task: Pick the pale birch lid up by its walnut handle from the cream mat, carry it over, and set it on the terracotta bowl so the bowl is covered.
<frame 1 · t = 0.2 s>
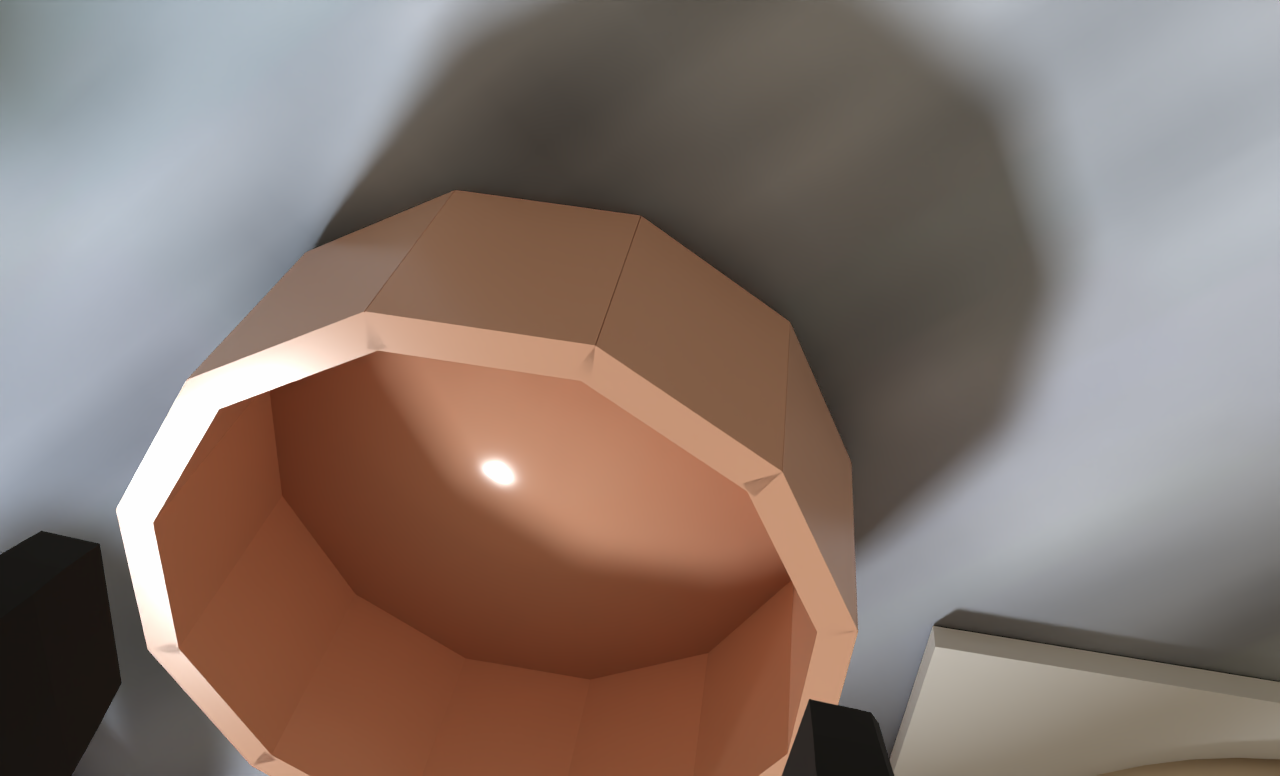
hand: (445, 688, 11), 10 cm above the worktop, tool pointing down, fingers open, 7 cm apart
bowl: (542, 463, 22), on the worktop
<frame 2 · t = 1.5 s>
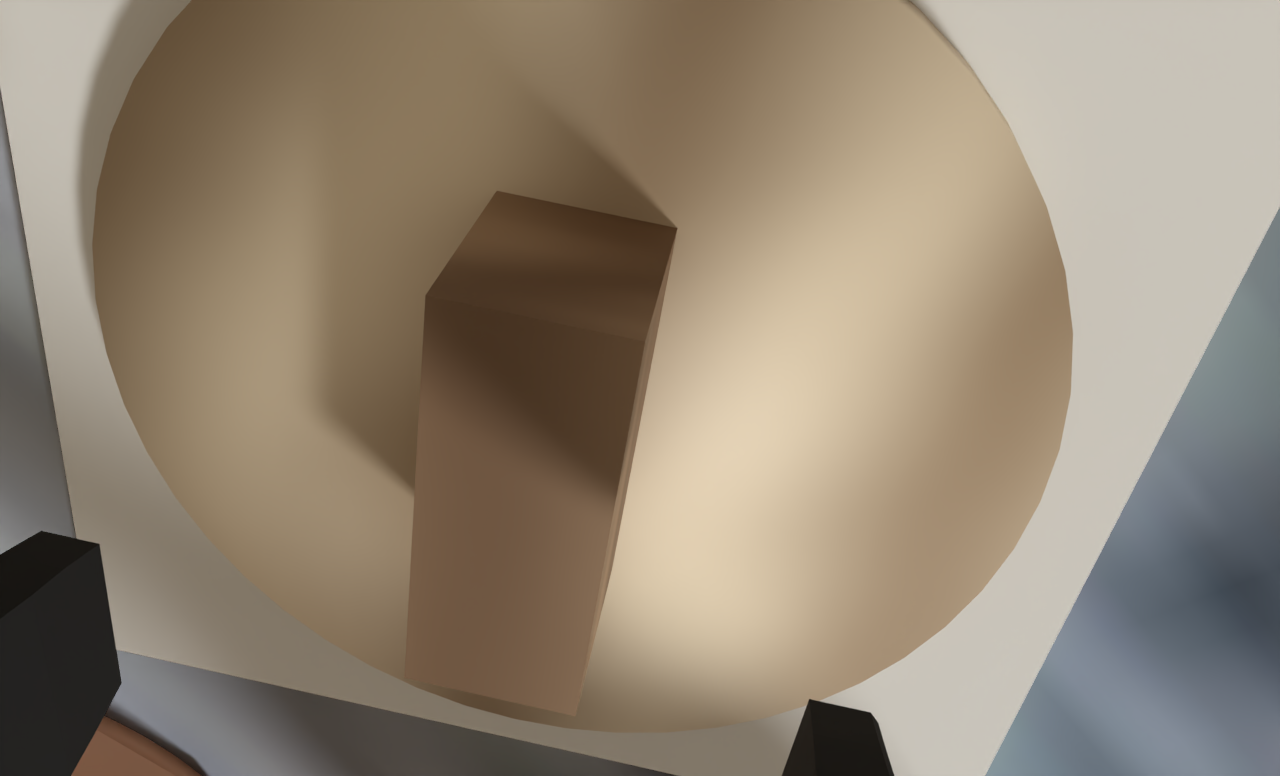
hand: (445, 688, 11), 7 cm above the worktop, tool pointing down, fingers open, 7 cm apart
mat: (578, 352, 17), on the worktop
lid: (571, 370, 16), point 1 cm above the worktop, touching mat
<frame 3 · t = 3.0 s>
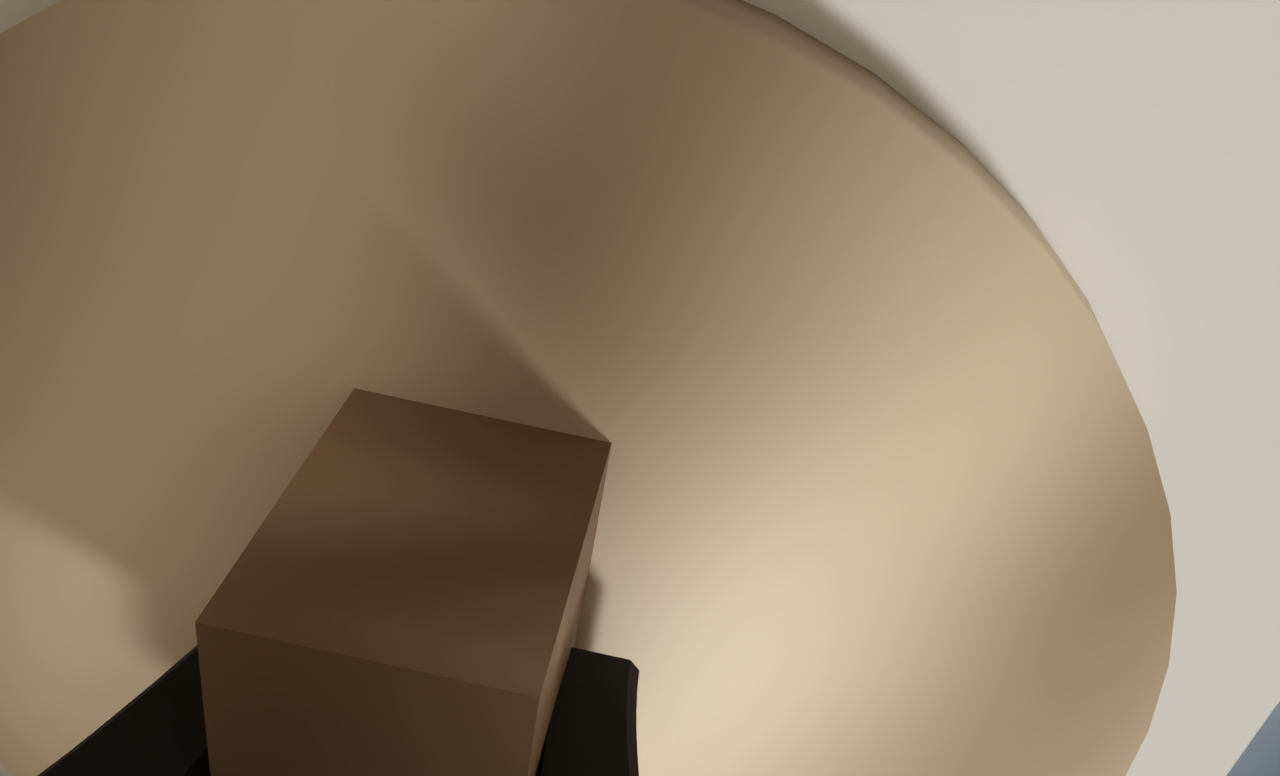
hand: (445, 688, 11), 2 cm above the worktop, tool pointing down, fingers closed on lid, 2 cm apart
mat: (494, 558, 13), on the worktop
lid: (480, 593, 12), point 1 cm above the worktop, touching gripper, mat
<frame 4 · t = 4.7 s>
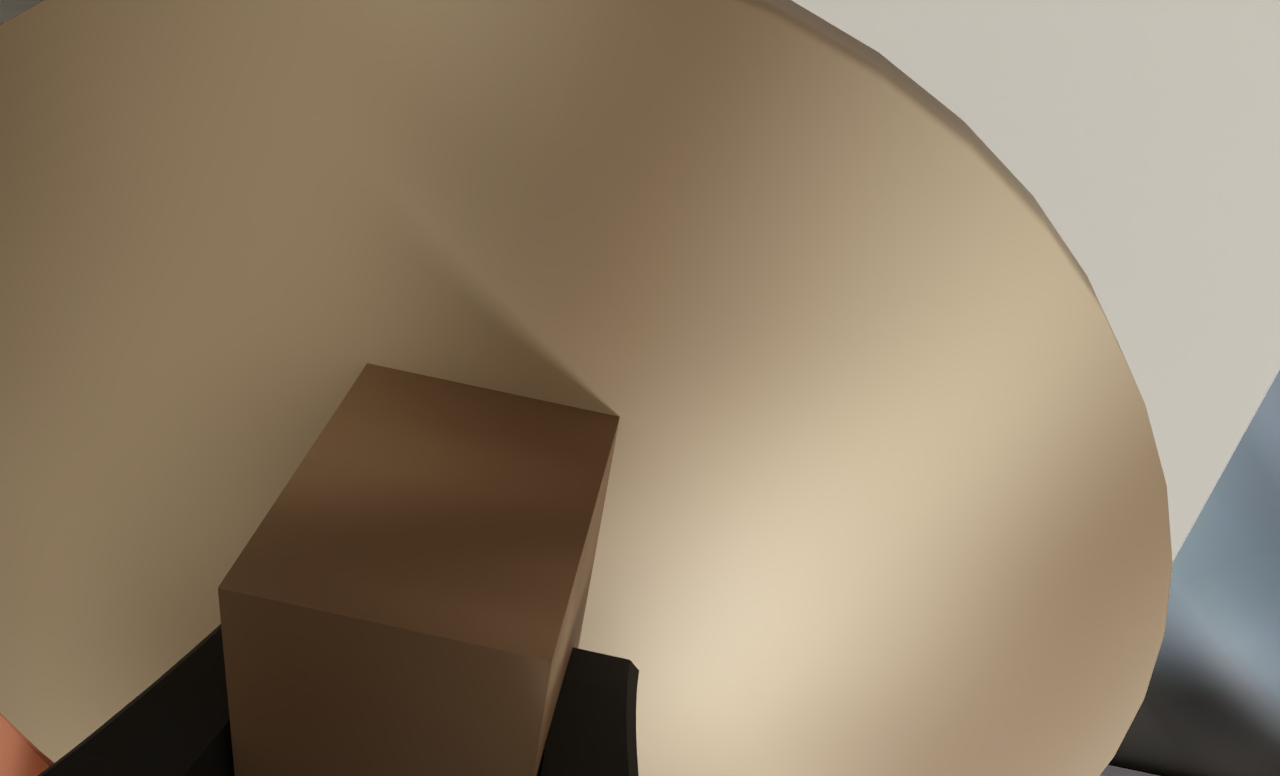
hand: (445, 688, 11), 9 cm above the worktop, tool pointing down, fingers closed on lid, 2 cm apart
mat: (796, 77, 17), on the worktop
bowl: (195, 680, 26), on the worktop
lid: (490, 565, 12), point 8 cm above the worktop, touching gripper
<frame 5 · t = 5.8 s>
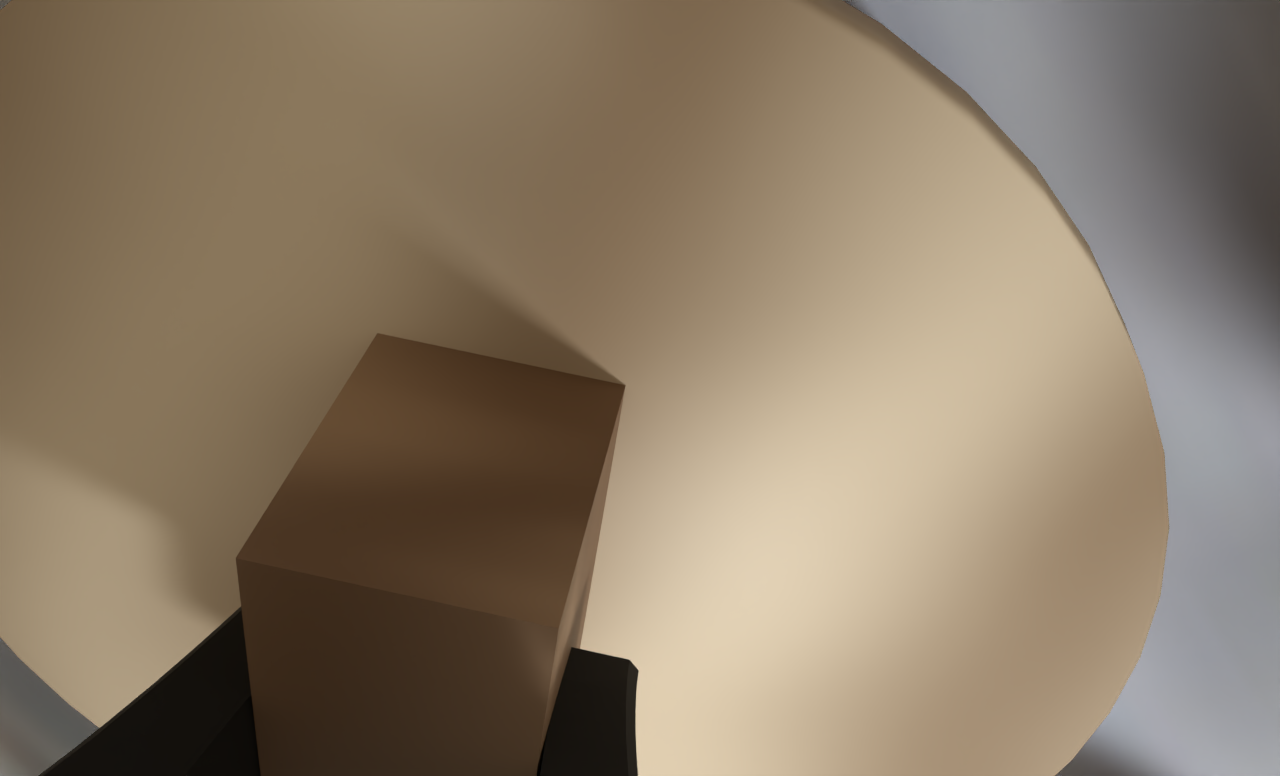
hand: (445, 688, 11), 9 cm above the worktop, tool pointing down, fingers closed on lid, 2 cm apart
lid: (500, 526, 13), point 7 cm above the worktop, touching gripper
when the fingers open (8 cm above the worktop, at t = 6.6 s): lid stays where it is, resting on bowl.
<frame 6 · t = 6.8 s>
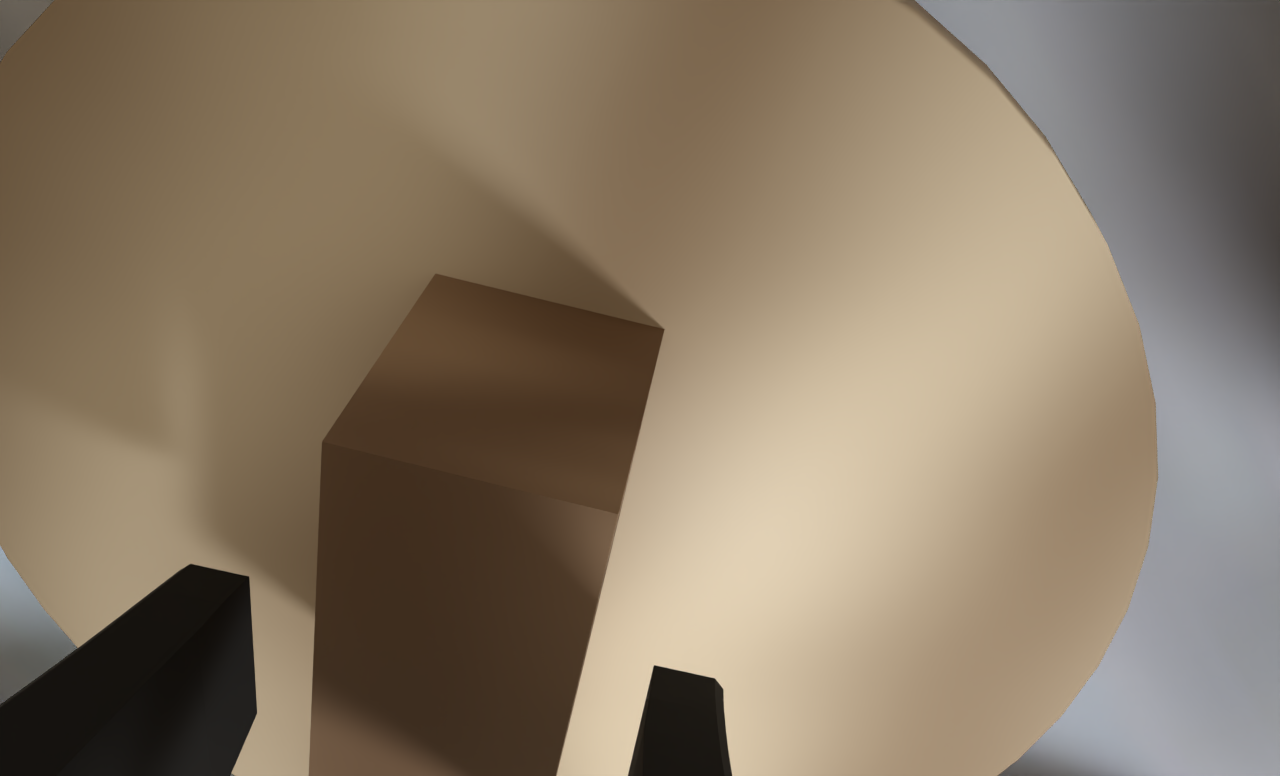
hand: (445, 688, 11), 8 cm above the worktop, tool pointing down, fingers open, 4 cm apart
lid: (527, 480, 13), point 5 cm above the worktop, touching bowl
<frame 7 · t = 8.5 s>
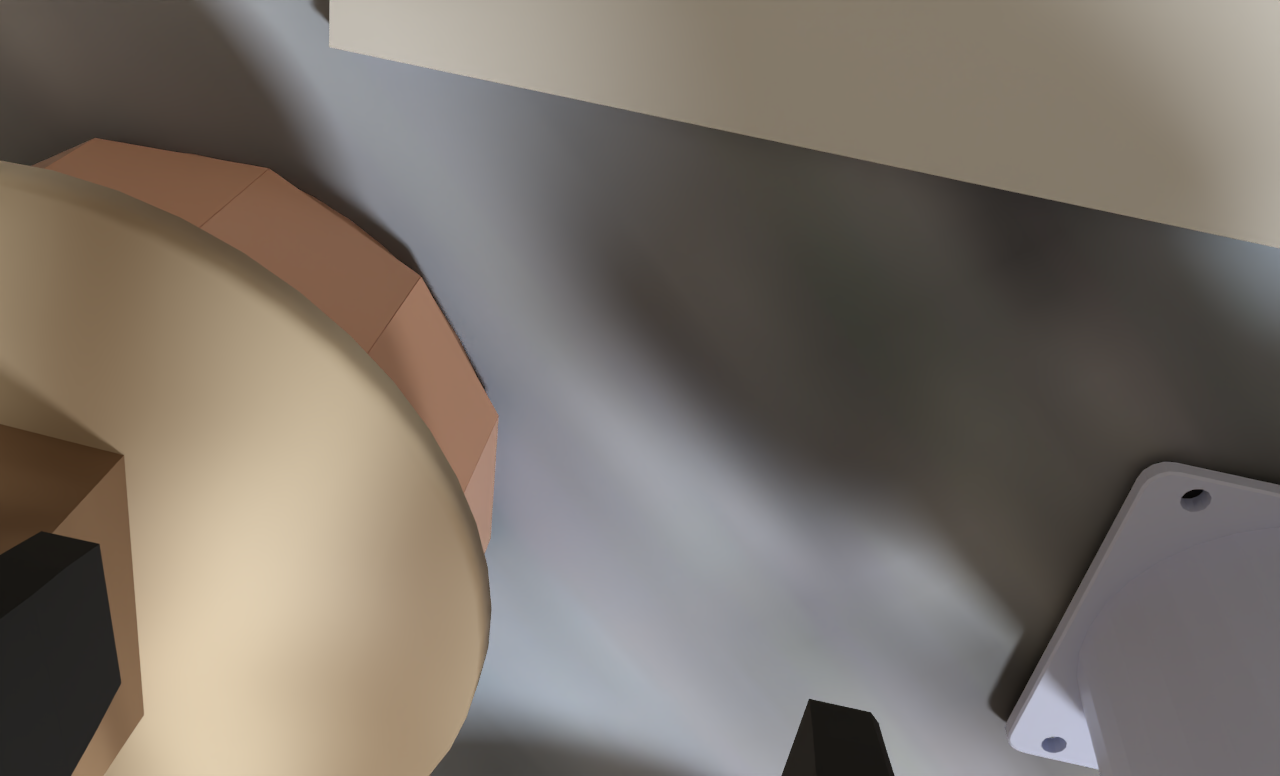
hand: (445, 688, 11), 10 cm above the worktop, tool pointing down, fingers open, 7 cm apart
bowl: (225, 410, 23), on the worktop, touching lid
lid: (91, 547, 19), point 5 cm above the worktop, touching bowl
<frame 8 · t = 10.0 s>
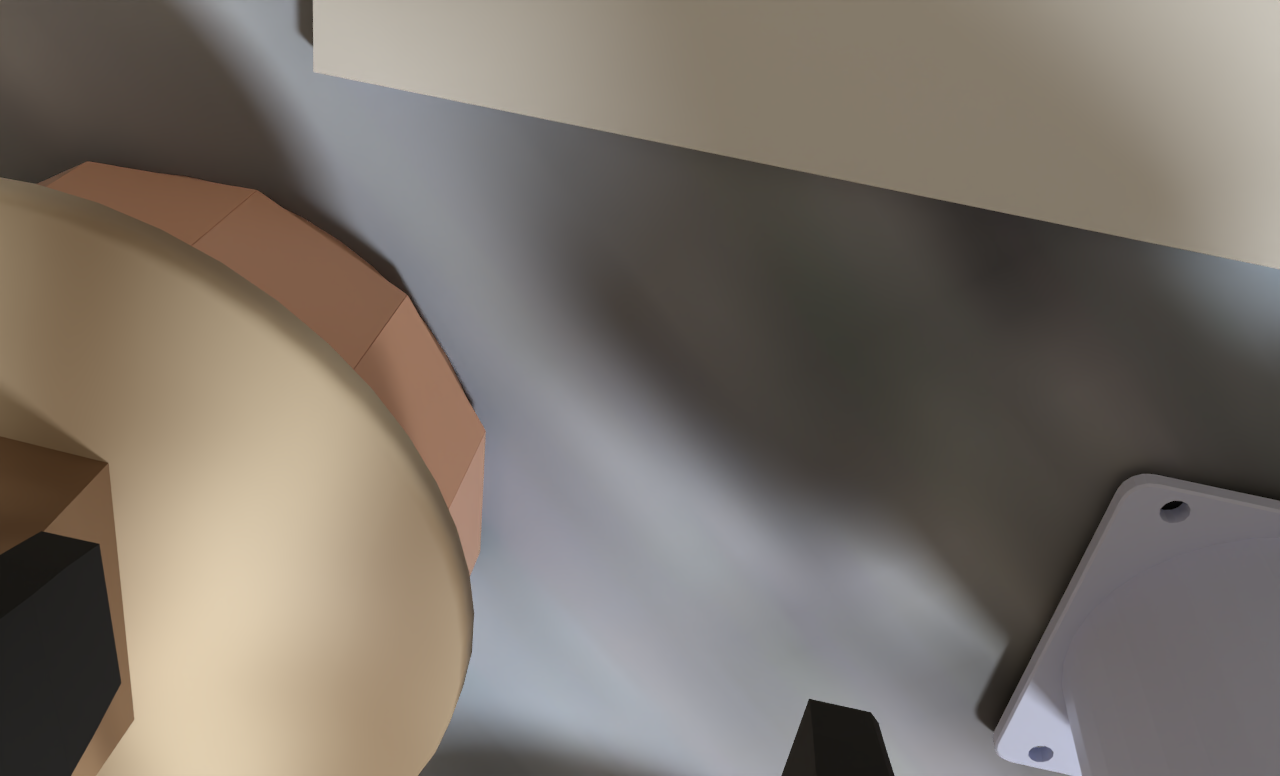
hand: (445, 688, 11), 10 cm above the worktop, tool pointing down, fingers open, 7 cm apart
bowl: (219, 426, 23), on the worktop, touching lid
lid: (81, 554, 19), point 5 cm above the worktop, touching bowl
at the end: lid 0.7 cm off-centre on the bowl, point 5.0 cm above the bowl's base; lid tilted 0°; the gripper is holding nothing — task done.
